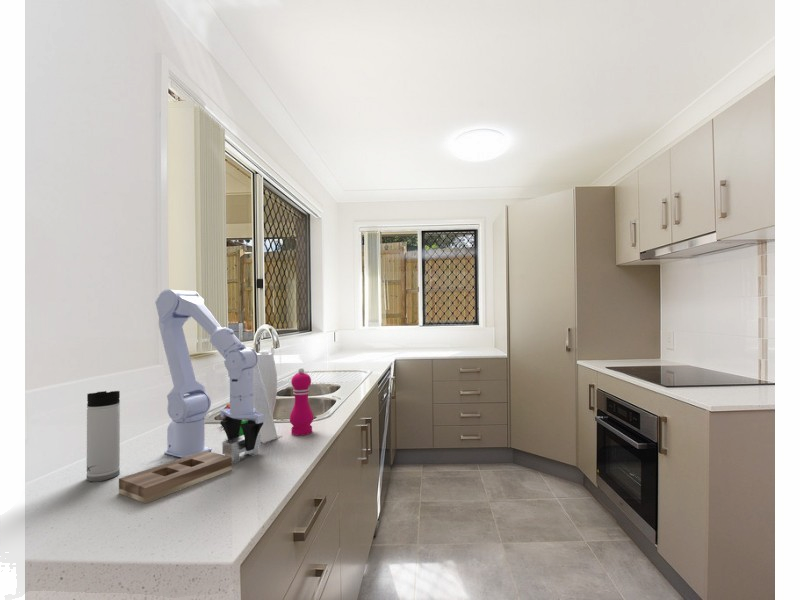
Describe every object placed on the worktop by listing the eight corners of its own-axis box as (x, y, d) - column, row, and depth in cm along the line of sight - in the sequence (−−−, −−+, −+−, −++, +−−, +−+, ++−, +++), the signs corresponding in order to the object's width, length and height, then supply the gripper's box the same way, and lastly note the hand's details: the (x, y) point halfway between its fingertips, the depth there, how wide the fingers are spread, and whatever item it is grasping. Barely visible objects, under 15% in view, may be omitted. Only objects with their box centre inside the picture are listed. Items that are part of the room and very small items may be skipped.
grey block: (222, 461, 105) (222, 441, 105) (251, 451, 113) (251, 432, 113) (231, 464, 103) (231, 443, 104) (260, 453, 111) (260, 434, 111)
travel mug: (83, 484, 92) (84, 393, 93) (89, 474, 98) (89, 388, 99) (117, 479, 95) (117, 390, 96) (121, 469, 101) (121, 386, 102)
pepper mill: (292, 429, 133) (291, 366, 134) (314, 429, 134) (314, 366, 135) (287, 436, 126) (287, 369, 127) (312, 435, 127) (311, 369, 127)
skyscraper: (285, 438, 125) (284, 344, 126) (263, 446, 118) (263, 346, 119) (266, 434, 130) (266, 344, 130) (244, 441, 123) (244, 346, 124)
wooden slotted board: (118, 493, 87) (118, 478, 88) (205, 462, 105) (205, 450, 105) (145, 503, 82) (145, 488, 83) (231, 469, 100) (231, 456, 100)
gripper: (273, 394, 109) (273, 447, 108) (236, 390, 116) (236, 439, 115) (251, 399, 102) (251, 455, 102) (213, 394, 110) (213, 447, 109)
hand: (241, 447), depth 108 cm, fingers open, 6 cm apart
